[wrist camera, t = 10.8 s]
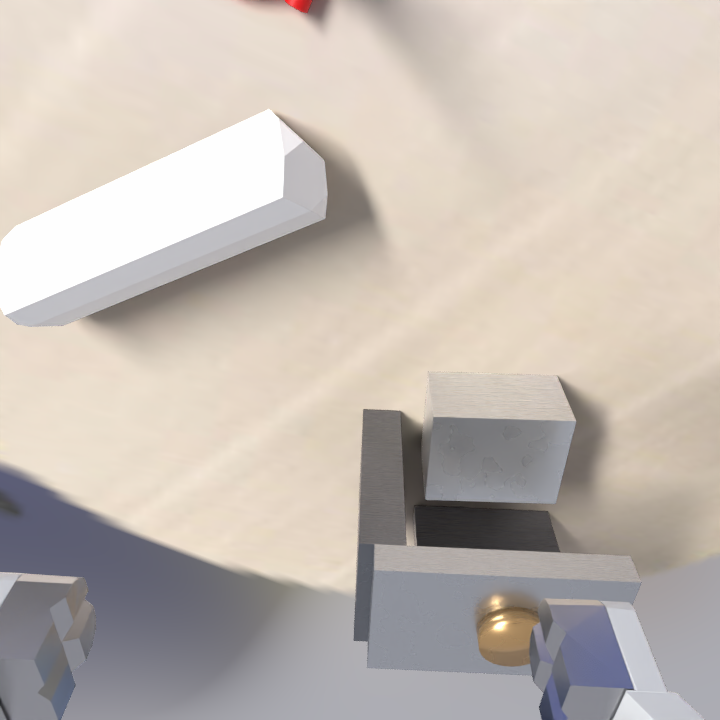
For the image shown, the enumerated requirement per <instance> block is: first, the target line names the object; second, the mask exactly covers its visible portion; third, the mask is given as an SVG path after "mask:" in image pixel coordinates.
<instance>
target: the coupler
mask: <svg viewBox="0 0 720 720" xmlns="http://www.w3.org/2000/svg"><path fill="white" fill-rule="evenodd" d="M413 524H414V541H415V546H406V524H405V502H404V480H403V458H402V436H401V414H400V411H389V410H367V409H363V430H362V450H361V471H360V492H359V516H358V542H357V568H356V594H355V620H354V641H368V658H367V659H368V660H367V667H368V668H380V669H402V670H422V671H444V672H466V673H487V674H510V675H531V676H532V672H531V666H530V657H529V648H530V636H531V632H532V628H533V626H535V625H536V624H538V623H539V622H540V620H539V616H538V608H539V605H540V602H541V601H542V600H543V599H544V598H549V599H581V600H598V601H614V602H629V603H630V604H631V605H633V602H634V600H635V597H636V595H637V592H638V590H639V587H640V585H641V583H642V582H641V580H640V577H639V575H638V572H637V570H636V568H635V565H634V563H633V561H632V558H631V556H622V555H600V554H578V553H560V550H559V547H558V544H557V541H556V537H555V534H554V531H553V527H552V524H551V521H550V518H549V514H548V511H526V510H504V509H482V508H460V507H438V506H416V505H414V514H413Z"/></svg>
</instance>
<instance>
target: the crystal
mask: <svg viewBox="0 0 720 720" xmlns="http://www.w3.org/2000/svg"><path fill="white" fill-rule="evenodd" d="M280 131H281V132H280ZM281 137H282V138H281ZM282 143H283V144H282ZM283 149H284V150H283ZM284 155H285V159H284ZM283 180H284V181H283ZM327 197H328V193H327V181H326V170H325V161H324V160H323V159H322V158H321V156H320V155H318V154H317V153H316V152H315V151H314V150H313V149H312V148H311V147H310V146H309V145H308V144H307V143H306V142H305V141H303V140H302V139H301V138H300V137H299V136H298V135H297V134H296V133H295V132H294V131H293V130H292V129H290V128H289V127H288V126H287V125H286V124H285V123H284V122H283V121H282V120H281V119H279V118H278V117H277V116H276V115H275V114H274V113H273V112H272V111H271V110H270V109H268V110H266V111H264V112H262V113H259V114H257V115H255V116H253V117H251V118H249V119H246V120H244V121H242V122H240V123H238V124H236V125H234V126H231V127H229V128H227V129H225V130H223V131H221V132H218V133H216V134H214V135H212V136H210V137H208V138H205V139H203V140H201V141H199V142H197V143H195V144H192V145H190V146H188V147H186V148H184V149H182V150H179V151H177V152H175V153H173V154H171V155H169V156H166V157H164V158H162V159H160V160H158V161H156V162H153V163H151V164H149V165H147V166H145V167H143V168H140V169H138V170H136V171H134V172H132V173H130V174H128V175H125V176H123V177H121V178H119V179H117V180H115V181H112V182H110V183H108V184H106V185H104V186H102V187H99V188H97V189H95V190H93V191H91V192H89V193H86V194H84V195H82V196H80V197H78V198H76V199H73V200H71V201H69V202H67V203H65V204H63V205H60V206H58V207H56V208H54V209H52V210H50V211H47V212H45V213H43V214H41V215H39V216H37V217H35V218H32V219H30V220H28V221H26V222H24V223H22V224H19V225H17V226H15V228H14V229H13V230H12V231H11V232H10V233H9V234H8V235H7V236H6V237H5V238H4V239H3V240H2V244H1V250H0V307H1V309H2V311H3V313H4V315H5V316H7V317H8V318H9V319H11V320H12V321H13V322H15V323H16V324H18V325H24V326H30V327H37V326H63V325H66V324H68V323H71V322H73V321H76V320H78V319H81V318H83V317H86V316H88V315H90V314H93V313H95V312H98V311H100V310H103V309H105V308H108V307H110V306H113V305H115V304H117V303H120V302H122V301H125V300H127V299H130V298H132V297H135V296H137V295H140V294H142V293H144V292H147V291H149V290H152V289H154V288H157V287H159V286H162V285H164V284H166V283H169V282H171V281H174V280H176V279H179V278H181V277H184V276H186V275H189V274H191V273H193V272H196V271H198V270H201V269H203V268H206V267H208V266H211V265H213V264H216V263H218V262H220V261H223V260H225V259H228V258H230V257H233V256H235V255H238V254H240V253H243V252H245V251H247V250H250V249H252V248H255V247H257V246H260V245H262V244H265V243H267V242H270V241H272V240H274V239H277V238H279V237H282V236H284V235H287V234H289V233H292V232H294V231H296V230H299V229H301V228H304V227H306V226H309V225H311V224H314V223H316V222H319V221H321V220H323V219H325V218H326V207H327ZM289 200H290V201H289Z"/></svg>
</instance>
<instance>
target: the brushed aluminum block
mask: <svg viewBox="0 0 720 720" xmlns="http://www.w3.org/2000/svg"><path fill="white" fill-rule="evenodd" d="M575 425H576V419H575V417H574V414H573V412H572V410H571V407H570V405H569V403H568V400H567V398H566V396H565V393H564V391H563V389H562V386H561V384H560V382H559V379H558V377H557V375H531V374H497V373H463V372H429V371H428V377H427V388H426V399H425V411H424V422H423V433H422V444H421V457H422V469H423V481H424V492H425V500H447V501H478V502H510V503H542V504H556V500H557V496H558V492H559V488H560V484H561V480H562V476H563V472H564V468H565V464H566V460H567V456H568V452H569V448H570V444H571V441H572V437H573V433H574V429H575Z"/></svg>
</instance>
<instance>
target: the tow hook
mask: <svg viewBox="0 0 720 720" xmlns="http://www.w3.org/2000/svg"><path fill="white" fill-rule="evenodd" d="M285 2H286V3H287V4H289V5H290V6H292V7H294V8H295V9H297V10H299V11H301V12H304V13H308V10H309V7H310V5H311V2H312V0H285Z"/></svg>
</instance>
